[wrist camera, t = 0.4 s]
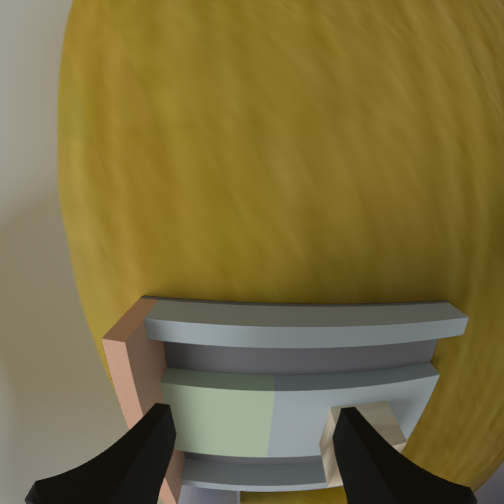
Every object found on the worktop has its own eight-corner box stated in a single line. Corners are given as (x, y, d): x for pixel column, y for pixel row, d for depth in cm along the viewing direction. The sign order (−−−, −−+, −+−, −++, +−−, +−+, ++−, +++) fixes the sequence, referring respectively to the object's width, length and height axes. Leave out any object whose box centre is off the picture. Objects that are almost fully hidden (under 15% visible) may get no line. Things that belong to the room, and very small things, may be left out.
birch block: (370, 437, 20) (384, 476, 15) (319, 443, 20) (327, 486, 15) (386, 400, 19) (407, 442, 14) (330, 407, 19) (343, 454, 14)
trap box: (382, 455, 24) (397, 494, 18) (174, 459, 25) (163, 503, 18) (445, 300, 19) (491, 334, 13) (142, 295, 20) (102, 338, 13)
